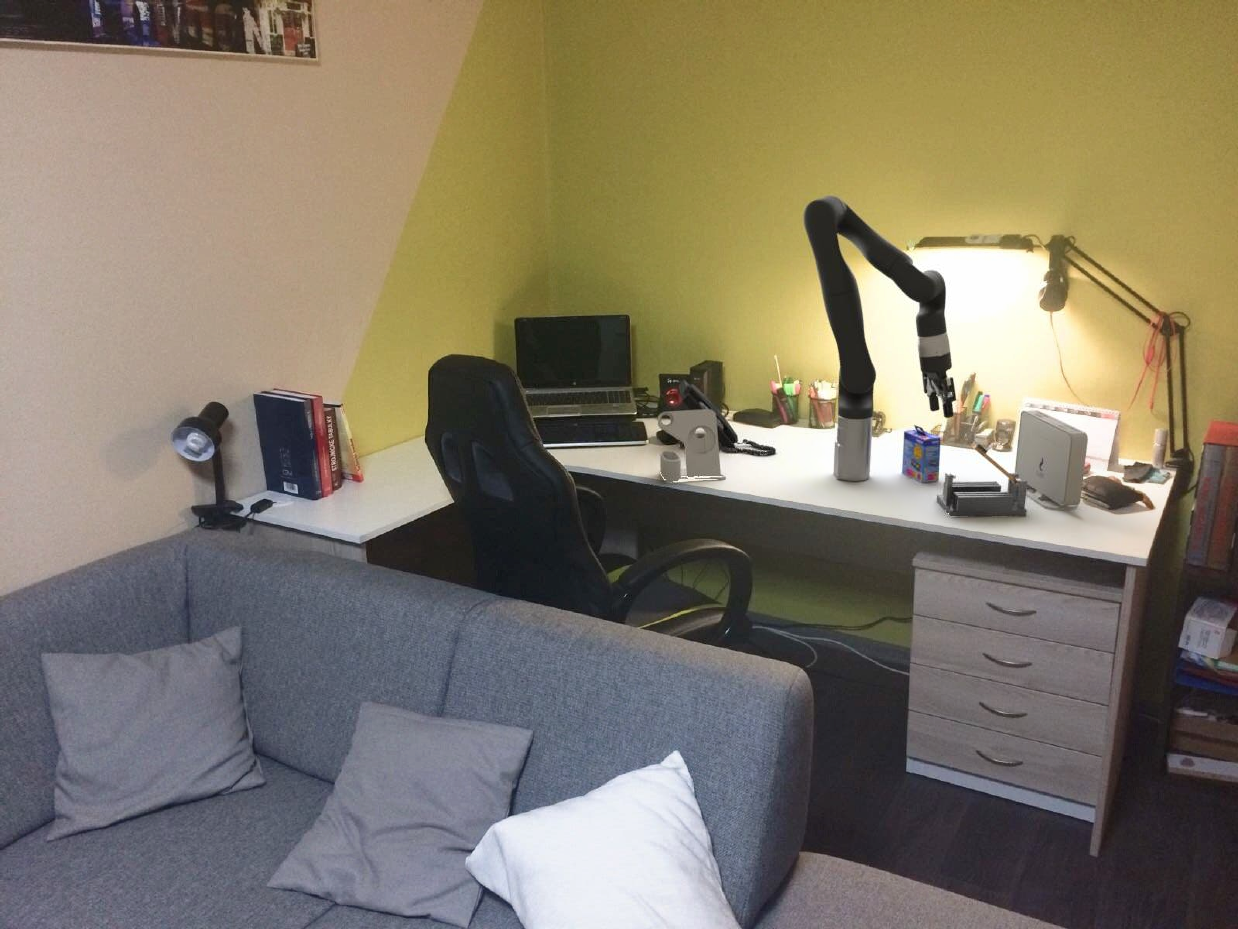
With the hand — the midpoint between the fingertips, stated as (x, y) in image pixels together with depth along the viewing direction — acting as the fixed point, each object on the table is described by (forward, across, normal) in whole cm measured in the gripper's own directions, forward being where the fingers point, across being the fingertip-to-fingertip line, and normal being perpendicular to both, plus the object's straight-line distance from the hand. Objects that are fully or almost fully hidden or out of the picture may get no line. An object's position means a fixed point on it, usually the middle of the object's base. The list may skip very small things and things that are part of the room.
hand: (941, 413), depth 247 cm
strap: (+12, +14, +6) cm, 20 cm away
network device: (+25, +8, +21) cm, 34 cm away
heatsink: (+22, +13, +1) cm, 26 cm away
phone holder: (+9, -24, -63) cm, 68 cm away
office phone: (+10, -55, -48) cm, 74 cm away
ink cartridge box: (+20, -14, -3) cm, 24 cm away
